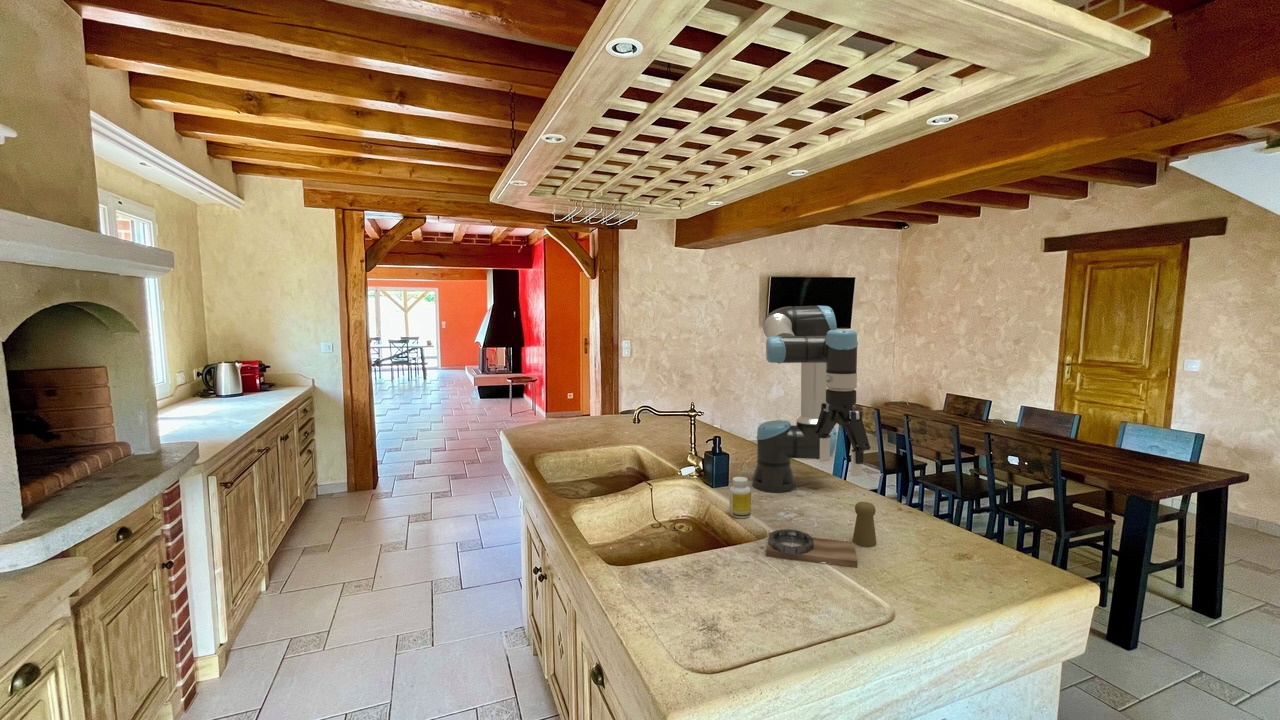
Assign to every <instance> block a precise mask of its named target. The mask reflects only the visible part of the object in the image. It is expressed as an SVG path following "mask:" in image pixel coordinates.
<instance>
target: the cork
mask: <svg viewBox="0 0 1280 720" xmlns="http://www.w3.org/2000/svg"><path fill="white" fill-rule="evenodd" d="M876 511H877V510H876V507H875V505H874V504H873V503H871V502H868V501H859V502H856V504H855V505H854V512H855V514H856V518H855V525H854V529H853V536H852V542H854V545H857V546H859V547H865V548H874V547H875V546H877V545H878V544H877V536H876V535H877V534H876V529H875V528H876V527H875V519H874V516H875V515H876Z"/></svg>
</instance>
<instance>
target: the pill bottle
mask: <svg viewBox="0 0 1280 720" xmlns="http://www.w3.org/2000/svg"><path fill="white" fill-rule="evenodd" d="M748 482H749V480H748V477H745V476H734V477H733V478H732V485H731V486H730V488H729V513H730V515H731V516H732V517H734V518H737V519H746V518H747V519H748V518H749V517H750V516H751V515H752V491H751V490H752V489H751V488H750V486H749V485H748V484H749V483H748Z"/></svg>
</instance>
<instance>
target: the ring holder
mask: <svg viewBox="0 0 1280 720" xmlns="http://www.w3.org/2000/svg"><path fill="white" fill-rule="evenodd" d="M769 533H770V534H768V538H769V545H770V546H771V547H772V548H773V549H775V550H778V551H780V552H783V553H789V554H803V553H808V552H810V551H811V550H813V547H814V539H813V538H814V537H813V536H811V535H810V534H808V533H807V532H806V533H805V532H803V531H801V530H797V529H789V528H788V529H786V528H785V529H776V530H774V531H772V532H769Z"/></svg>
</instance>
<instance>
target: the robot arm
mask: <svg viewBox="0 0 1280 720" xmlns="http://www.w3.org/2000/svg"><path fill="white" fill-rule="evenodd" d="M762 331H763V333H764V335H765V336H766V342H765V356H766V362H768V363H773V364H776V363H777V364H795V363H796V364H798V363H799V364H800V365H801V366H800V369H801V370H800V416H799V417H798V418H797V419H796V424H795V425H792V424H791V422H790V421H789V420H781V419H779V420H778V419H777V420H770V421H765V422H763V423H761V424H759V426H758V427H757V431H756V439H757V442H756V443H757V448H756V451H757V453H756V459H757V460H756V466H755V469H754V473H753V476H752V478H751V479H752V481H751V484H752V486H753V487H754V488H755V489H757V490H760V491H762V490H763V492H768V493H787V492H790V490H791V491H793V490H795V488H796V479H795V475H794V472H793V469H792V467H791V459H806V460H807V459H809V460H810V459H813V460H819V462H821V463H823V462H830V461H831V457H832V456H833V454H834V452H835V449H836V445H837V444H836V442H837V435H836V434H837V431H836V430H837V429H836V427H835V426H836V424H837V425H840V426H841V427H842V428H843V429H844V430H845V432H846V433H845V434H846V435H847V437H848V440H849V442H850V444H851V446H852V449H851V451H850V452H851V454H850V457H851V458H850V460H851V461H850V465H851V466H850V476H851V477H852V478H853V477H860V476H863V464H864V452H865V451H870V450H871V446H870V442H869V439H868V435H867V432H866V428H865V425H864V422H863V412H862V411H861V410H854V407H853V406H854V405H856V404H857V390H856V388H857V387H858V385H857V383H858V375H857V374H858V373H857V369H858V368H857V367H858V366H857V365H858V345H859V342H858V333H857V331H856V330H854V329H838V328H837V320H836V315H835V312H834V310H833V308H832V307H830V306H828V305H804V306H803V305H800V306H797V305H796V306H795V305H794V306H792V305H791V306H790V305H789V306H783V307H780V308H776V309H774V310H772V312H769V314H768V315H766V316H765V318H764V319H763V321H762ZM786 491H787V492H786Z"/></svg>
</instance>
